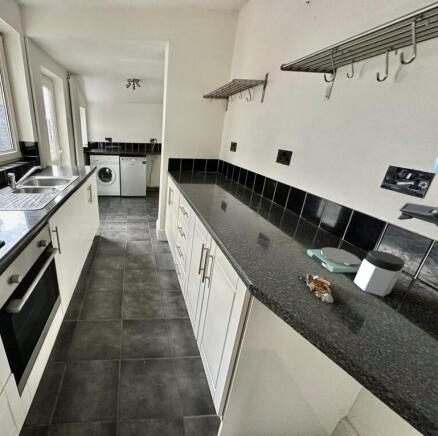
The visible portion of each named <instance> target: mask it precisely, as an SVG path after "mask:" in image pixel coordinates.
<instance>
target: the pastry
mask: <svg viewBox="0 0 438 436" xmlns="http://www.w3.org/2000/svg"><path fill="white" fill-rule="evenodd" d="M300 280H303V277H300ZM304 282H305V283H306V285H307V286H308V287H309V288H310V290H309V291H310V292H312V293H314V294H315V298H317V299H321V301H322V302H325V303H330V304H331V303H332V304H333V302H334V298H333V296H332V294H333V291H332V290H331V288H330V286H331V282H330V281H328V280H327V278H326V277H324V276H319V275H316V274H313V275H312V274H310V273H307V274H306V278H305V279H304Z"/></svg>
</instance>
